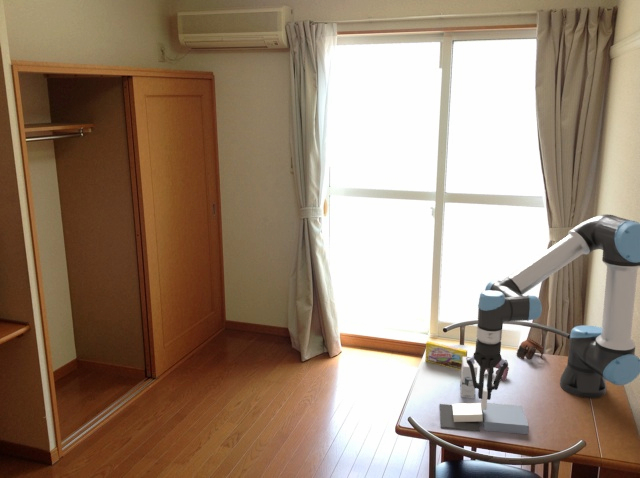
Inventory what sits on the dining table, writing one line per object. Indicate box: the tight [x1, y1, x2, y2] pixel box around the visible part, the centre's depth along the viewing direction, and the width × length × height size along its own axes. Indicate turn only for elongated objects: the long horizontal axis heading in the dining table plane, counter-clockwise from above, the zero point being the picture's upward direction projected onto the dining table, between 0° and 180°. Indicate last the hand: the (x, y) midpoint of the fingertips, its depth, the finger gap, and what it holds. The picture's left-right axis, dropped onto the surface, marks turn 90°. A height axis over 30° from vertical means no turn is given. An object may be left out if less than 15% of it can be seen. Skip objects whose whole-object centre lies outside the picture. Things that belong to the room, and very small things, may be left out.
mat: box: [439, 403, 481, 433], centre depth 187 cm, size 12×14×1 cm
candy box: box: [424, 340, 468, 371], centre depth 223 cm, size 16×2×8 cm, turn 58°
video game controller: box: [485, 362, 510, 382], centre depth 216 cm, size 10×5×7 cm, turn 58°
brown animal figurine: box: [516, 337, 544, 360], centre depth 230 cm, size 12×10×8 cm
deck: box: [481, 402, 529, 435], centre depth 185 cm, size 13×12×3 cm
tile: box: [451, 402, 483, 422], centre depth 186 cm, size 9×7×2 cm
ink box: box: [459, 356, 478, 399], centre depth 203 cm, size 9×5×12 cm, turn 168°
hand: (483, 407), depth 185 cm, fingers closed
